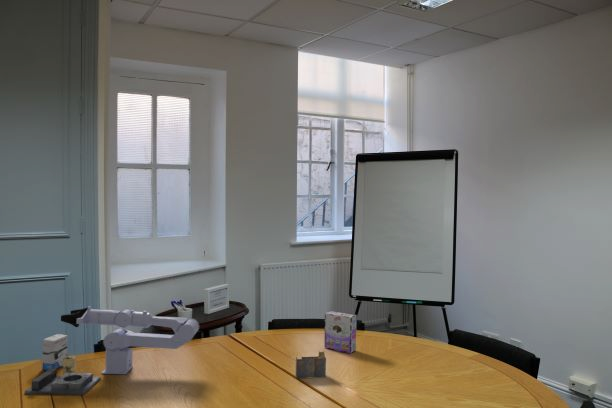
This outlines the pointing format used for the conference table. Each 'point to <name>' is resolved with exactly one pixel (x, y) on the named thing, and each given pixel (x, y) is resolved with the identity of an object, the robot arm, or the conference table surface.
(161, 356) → the conference table surface
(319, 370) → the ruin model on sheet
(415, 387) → the conference table surface
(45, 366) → the ink box
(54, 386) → the jig
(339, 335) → the candy box
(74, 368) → the bushing
